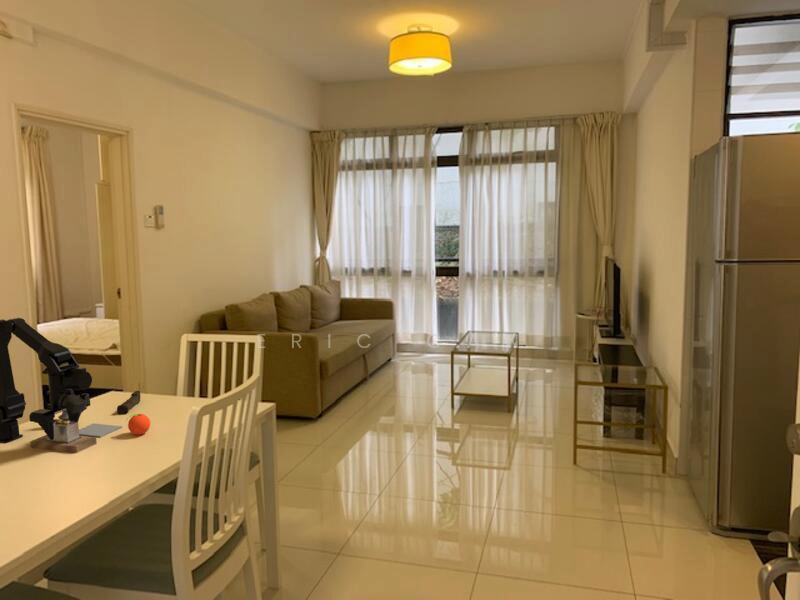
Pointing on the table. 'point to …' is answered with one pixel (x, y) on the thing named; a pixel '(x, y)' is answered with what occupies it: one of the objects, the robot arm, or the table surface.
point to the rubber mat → (98, 430)
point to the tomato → (139, 424)
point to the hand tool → (129, 403)
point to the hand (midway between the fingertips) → (63, 434)
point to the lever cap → (65, 430)
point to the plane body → (64, 444)
